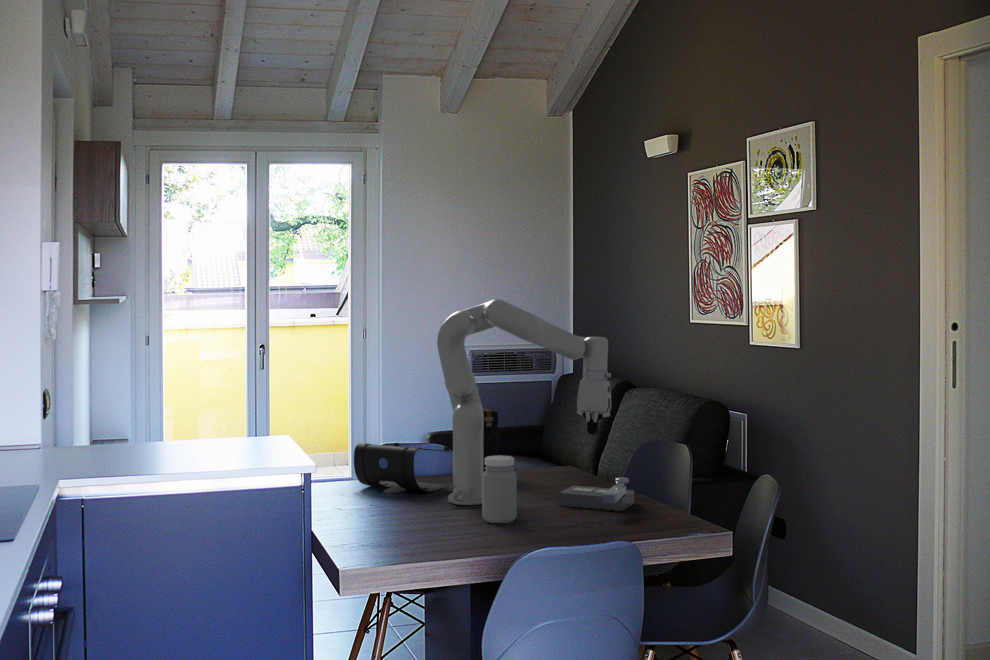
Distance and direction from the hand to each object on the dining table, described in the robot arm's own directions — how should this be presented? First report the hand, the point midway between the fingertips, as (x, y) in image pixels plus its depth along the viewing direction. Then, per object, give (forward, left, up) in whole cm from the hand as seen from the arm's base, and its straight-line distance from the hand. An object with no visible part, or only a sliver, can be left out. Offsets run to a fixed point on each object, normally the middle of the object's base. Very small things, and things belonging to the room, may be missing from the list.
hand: (592, 434), depth 282 cm
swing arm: (-12, -11, -16) cm, 23 cm away
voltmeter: (+23, +50, -21) cm, 59 cm away
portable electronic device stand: (-7, +65, -22) cm, 69 cm away
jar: (-37, +15, -21) cm, 45 cm away
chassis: (-4, -3, -21) cm, 22 cm away
